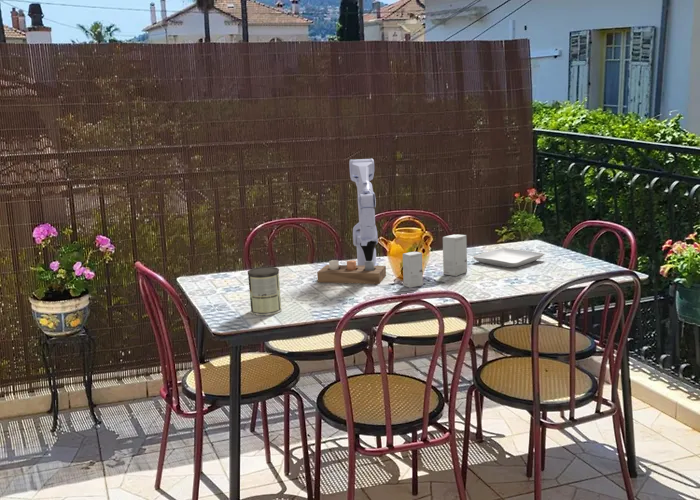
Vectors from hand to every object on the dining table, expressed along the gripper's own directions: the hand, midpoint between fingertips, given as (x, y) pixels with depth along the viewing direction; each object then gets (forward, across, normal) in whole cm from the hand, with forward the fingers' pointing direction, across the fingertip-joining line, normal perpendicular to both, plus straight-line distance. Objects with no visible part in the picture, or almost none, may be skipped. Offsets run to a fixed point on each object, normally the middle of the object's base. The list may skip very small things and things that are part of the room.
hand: (369, 260), depth 273 cm
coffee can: (+8, +44, -25) cm, 51 cm away
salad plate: (+8, -33, +50) cm, 60 cm away
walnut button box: (+7, 0, -7) cm, 10 cm away
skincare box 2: (+8, -12, +31) cm, 34 cm away
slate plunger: (+5, 0, 0) cm, 5 cm away
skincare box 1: (+8, +7, +18) cm, 21 cm away
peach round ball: (+5, 0, -7) cm, 8 cm away
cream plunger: (+5, 0, -14) cm, 15 cm away
